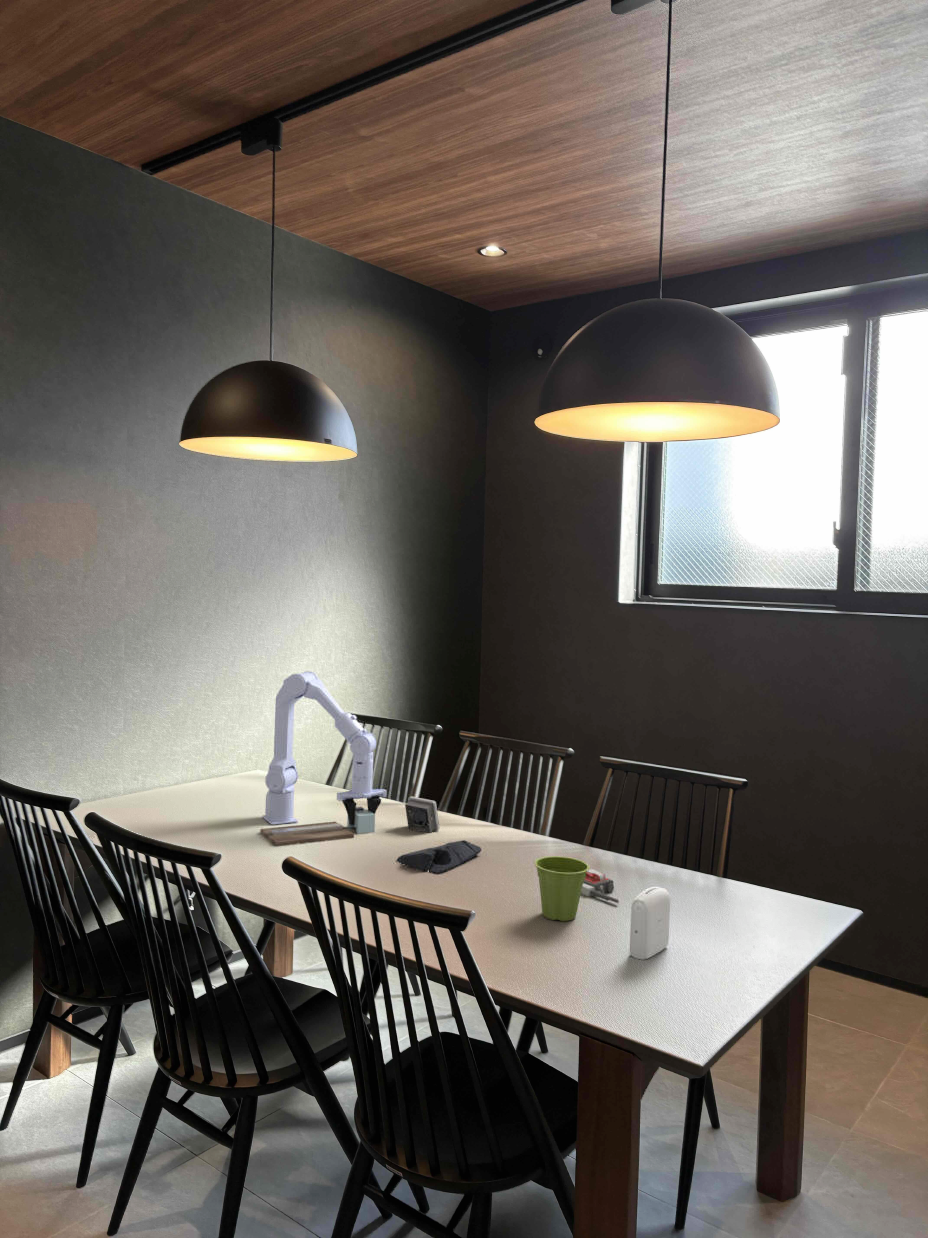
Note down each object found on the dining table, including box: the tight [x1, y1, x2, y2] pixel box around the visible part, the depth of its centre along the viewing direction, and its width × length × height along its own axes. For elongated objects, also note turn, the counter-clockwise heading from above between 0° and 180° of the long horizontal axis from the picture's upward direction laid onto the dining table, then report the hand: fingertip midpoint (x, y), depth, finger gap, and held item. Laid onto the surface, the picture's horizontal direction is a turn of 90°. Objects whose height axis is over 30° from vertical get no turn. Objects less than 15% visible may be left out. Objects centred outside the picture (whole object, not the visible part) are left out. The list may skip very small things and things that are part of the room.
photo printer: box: [629, 886, 671, 961], centre depth 177 cm, size 10×4×12 cm, turn 140°
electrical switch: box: [404, 795, 440, 834], centre depth 258 cm, size 9×5×9 cm, turn 57°
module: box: [346, 806, 376, 835], centre depth 257 cm, size 8×5×6 cm, turn 29°
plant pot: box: [533, 855, 591, 922], centre depth 194 cm, size 12×12×11 cm
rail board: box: [259, 821, 355, 847], centre depth 249 cm, size 14×22×2 cm, turn 119°
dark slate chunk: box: [396, 839, 482, 874], centre depth 232 cm, size 15×22×5 cm
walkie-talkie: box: [581, 868, 620, 904], centre depth 212 cm, size 9×4×20 cm
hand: (360, 823), depth 257 cm, fingers closed on module, 5 cm apart
